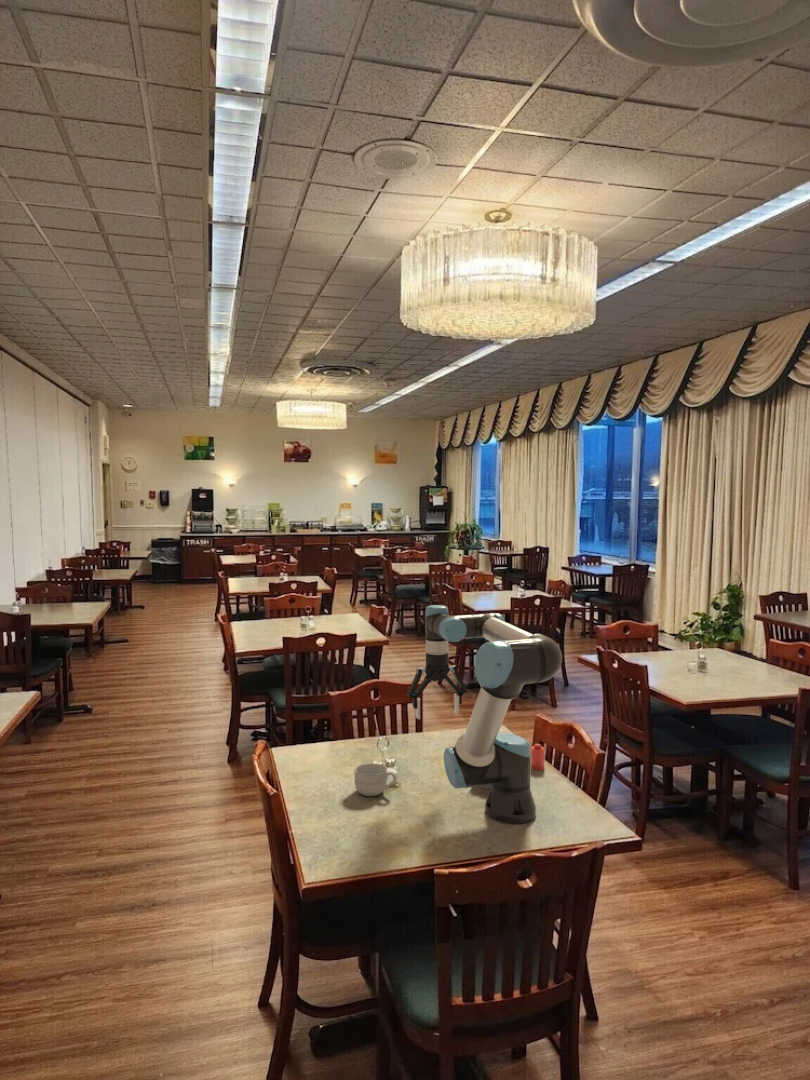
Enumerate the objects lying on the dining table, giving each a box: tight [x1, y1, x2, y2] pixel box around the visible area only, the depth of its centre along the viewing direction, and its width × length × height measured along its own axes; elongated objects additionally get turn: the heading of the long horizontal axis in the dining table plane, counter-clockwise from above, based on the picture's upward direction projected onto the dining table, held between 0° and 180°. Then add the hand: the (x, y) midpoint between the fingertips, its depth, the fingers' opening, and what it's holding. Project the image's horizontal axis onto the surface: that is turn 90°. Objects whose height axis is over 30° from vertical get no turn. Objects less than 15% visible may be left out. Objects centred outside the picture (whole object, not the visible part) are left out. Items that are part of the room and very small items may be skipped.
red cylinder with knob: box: [530, 743, 545, 771], centre depth 231 cm, size 5×5×8 cm
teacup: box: [353, 762, 398, 797], centre depth 211 cm, size 14×11×8 cm
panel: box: [478, 784, 491, 790], centre depth 227 cm, size 15×26×3 cm, turn 145°
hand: (437, 716), depth 216 cm, fingers open, 13 cm apart
